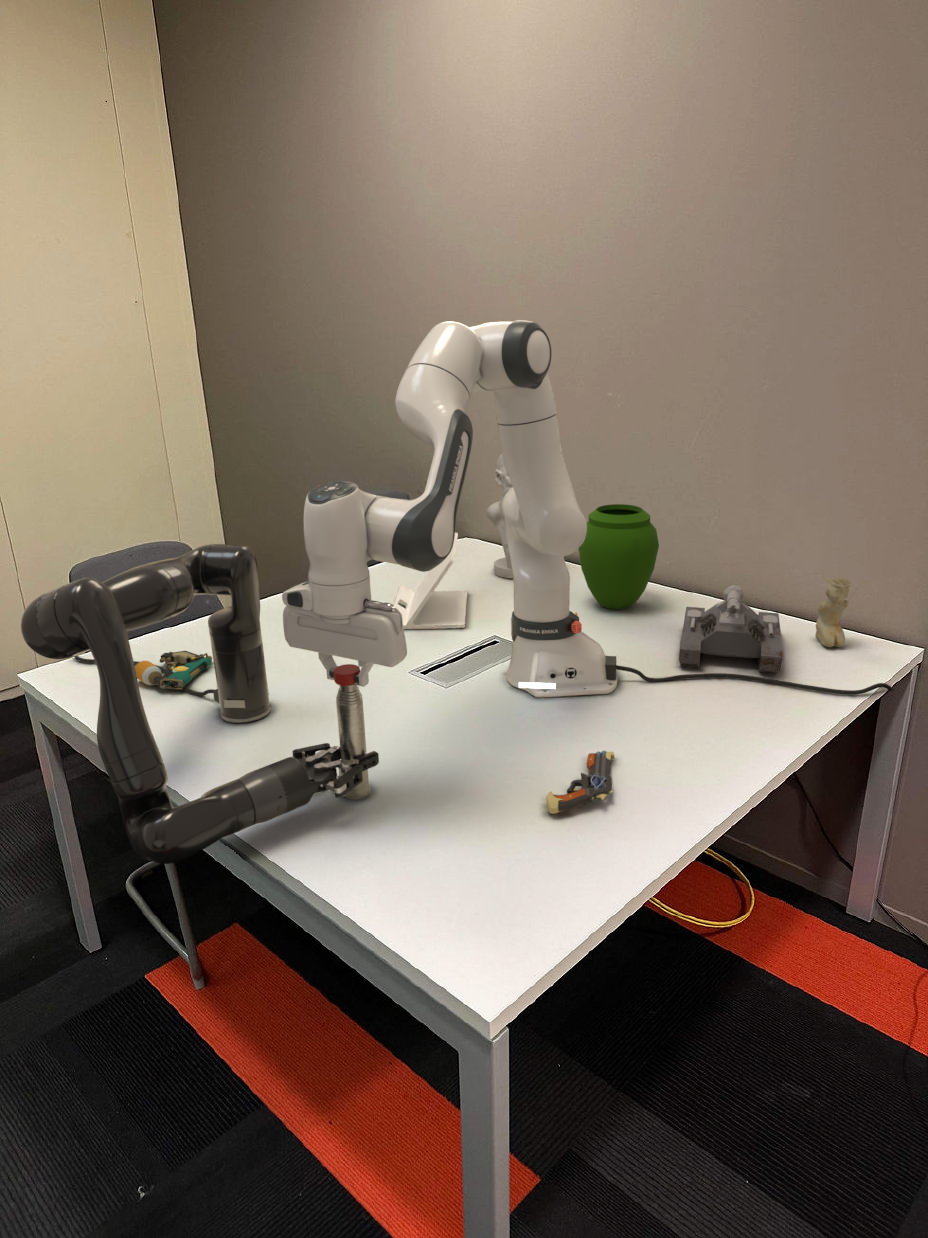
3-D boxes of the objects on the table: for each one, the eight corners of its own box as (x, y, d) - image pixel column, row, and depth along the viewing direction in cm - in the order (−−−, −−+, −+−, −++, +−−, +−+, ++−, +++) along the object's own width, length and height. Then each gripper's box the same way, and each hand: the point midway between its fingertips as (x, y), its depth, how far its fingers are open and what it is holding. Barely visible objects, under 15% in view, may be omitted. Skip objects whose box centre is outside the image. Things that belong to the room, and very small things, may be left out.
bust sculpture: (503, 593, 225) (502, 460, 212) (483, 567, 247) (480, 445, 234) (562, 587, 228) (563, 456, 215) (536, 562, 250) (536, 441, 237)
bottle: (367, 784, 138) (358, 665, 131) (371, 797, 135) (362, 675, 127) (343, 788, 138) (332, 668, 130) (345, 801, 134) (334, 678, 126)
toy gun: (544, 802, 127) (611, 800, 125) (554, 748, 145) (614, 745, 143) (546, 819, 128) (613, 817, 126) (556, 762, 146) (615, 760, 144)
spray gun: (177, 659, 191) (231, 671, 185) (120, 684, 176) (176, 698, 171) (176, 641, 190) (230, 653, 184) (118, 665, 175) (174, 678, 169)
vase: (599, 587, 227) (601, 497, 218) (668, 600, 216) (673, 505, 208) (562, 608, 212) (564, 513, 204) (634, 623, 202) (639, 523, 193)
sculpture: (821, 649, 184) (830, 583, 179) (808, 637, 191) (816, 573, 185) (848, 649, 184) (858, 582, 179) (834, 636, 191) (843, 572, 185)
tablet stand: (467, 593, 225) (465, 531, 219) (465, 628, 202) (462, 559, 196) (399, 594, 226) (395, 532, 220) (388, 629, 203) (384, 560, 197)
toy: (684, 626, 199) (689, 565, 194) (775, 633, 193) (782, 570, 188) (677, 670, 176) (682, 601, 171) (780, 679, 171) (788, 608, 165)
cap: (355, 673, 132) (354, 662, 131) (364, 682, 128) (363, 671, 128) (331, 678, 130) (330, 667, 129) (339, 688, 127) (338, 676, 126)
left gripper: (293, 788, 119) (394, 746, 129) (246, 750, 129) (343, 715, 139) (298, 833, 122) (396, 789, 132) (252, 793, 132) (346, 755, 142)
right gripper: (412, 598, 122) (417, 686, 127) (299, 580, 131) (308, 662, 136) (388, 612, 117) (394, 703, 122) (272, 592, 126) (282, 677, 131)
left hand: (368, 751), depth 135 cm, fingers closed on bottle, 4 cm apart
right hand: (347, 681), depth 129 cm, fingers closed on cap, 4 cm apart
